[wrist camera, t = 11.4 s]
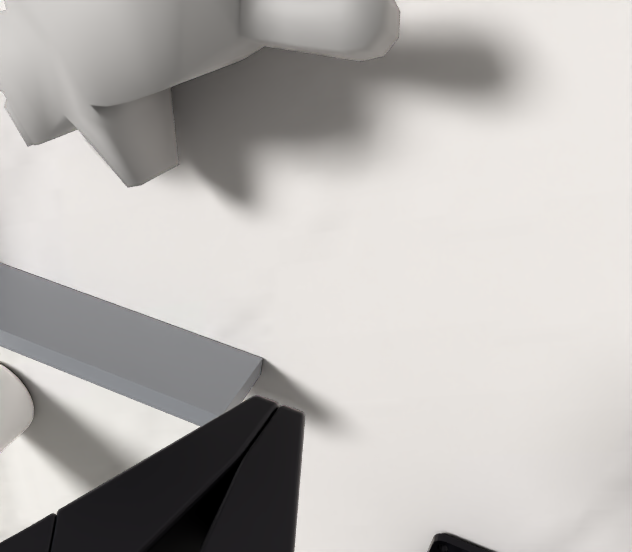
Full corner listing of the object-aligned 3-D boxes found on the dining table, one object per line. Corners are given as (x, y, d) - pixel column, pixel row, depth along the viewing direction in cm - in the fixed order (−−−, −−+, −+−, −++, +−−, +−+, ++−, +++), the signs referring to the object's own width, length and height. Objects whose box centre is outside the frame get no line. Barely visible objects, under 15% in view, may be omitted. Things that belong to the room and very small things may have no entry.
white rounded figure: (-127, -30, 19) (194, -409, 10) (6, -41, 23) (318, -324, 14) (33, 229, 22) (382, 100, 13) (126, 180, 26) (442, 56, 17)
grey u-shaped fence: (353, -334, 14) (293, -418, 11) (259, 382, 27) (218, 442, 24) (-234, -381, 19) (-403, -452, 15) (-78, 256, 31) (-152, 292, 28)
